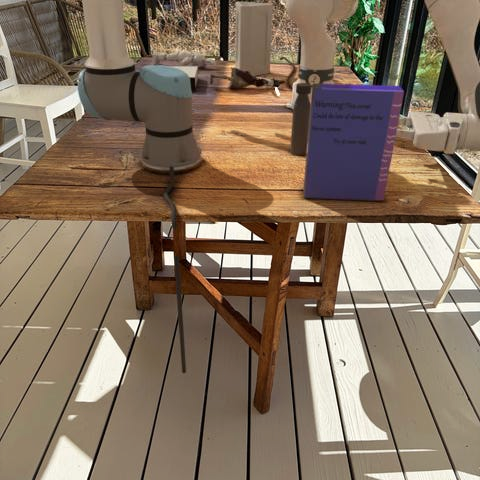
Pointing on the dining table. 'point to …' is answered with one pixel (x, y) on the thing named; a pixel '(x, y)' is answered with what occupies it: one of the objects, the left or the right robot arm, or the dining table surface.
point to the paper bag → (253, 37)
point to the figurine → (246, 79)
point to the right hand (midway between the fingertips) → (392, 126)
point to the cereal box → (351, 141)
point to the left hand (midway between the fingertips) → (174, 20)
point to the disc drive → (190, 74)
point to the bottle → (300, 125)
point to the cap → (303, 88)
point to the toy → (181, 58)
